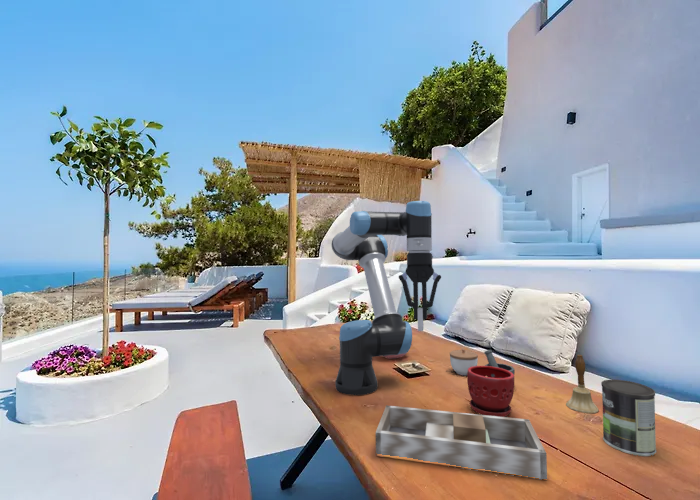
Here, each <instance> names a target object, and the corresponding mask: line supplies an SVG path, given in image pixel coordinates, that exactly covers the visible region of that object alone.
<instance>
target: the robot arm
mask: <svg viewBox="0 0 700 500" xmlns="http://www.w3.org/2000/svg"><path fill="white" fill-rule="evenodd" d="M431 207H432V205H431V203H430V202H429V201H426V200H413V201H412V200H411V201H409V202H407V203H406V206H405V211H403V212H402V211H401V212H400V211H399V212H395V211H365V210H360V211H353V212H352V213H351V214H350V217H349V225H348V227H346V229H345V230H343V231H340V232H338V233H337V234H335V235H334V237H333V238H332V240H331V250H332V252H333V253H334V254H335V256H337V257H339V259H342V260H345V261H358V264H359V266H360V267H361V268H363V271H364V275H365V280H366V285H367V289H368V294H369V297H370V302H371V306H372V311H373V315H374V318H373V319H372V321H371V320H369V319H357V320H356V319H355V320H352V321H348V322H345V323H343V324H342V325H341V327H340V329H339V337H338V339H339V369H338V371H337V374H336V375H337V376H336V378H335V382H334V383H335V384H334V385H335V390H336V391H337V392H338V393H340V394H343V395H349V396H364V395H369V394H373V393H375V392H376V391H377V390H378V384H379V383H378V379H377V375H376V373H375V370H374V369H375V368H374V367H373V358H374V357H384V356H388V355H398V354H404V353H406V354H407V353H409V351H410V349H411V347H412V343H413V329H412V326H411V323H410V322H409V321H405V320H403V316H402V315H401V314H400V313H398V312H397V309H396V306H395V301H394V298H393V294H392V291H391V287H390V284H389V283H390V282H389V280H388V276H387V272H386V269H385V265H384V263H385V262H386V259H387V257H388V254H389V249H388V248H389V246H388V243H387V242H388V241H387V240H386V238H385V236H397V237H405V236H406V251H407V252H408V253H407V254H406V269H405V272H404V273H402V274H400V275H398V279H399V281H400V282H401V284H402V288H403V292H404V295H405V300H406V303H407V306H408V307H410V308H412V309H413V319H414V320H417V331H418V332H423V331H424V320H427V318H428V308H431V307H433V306H434V305H433V304H434V302H435V301H434V300H435V297H436V292H437V288H438V283H439V282H440V280H441V278H442V275H441V274H438V273H437V272H435V270H434V268H433V253H432V252H431V251H432V250H433V243H432V242H433V238H432V235H433V233H432V230H433V229H432V215H433V214H432V208H431ZM408 278H409V279H410V282H412V285H413V286H412V287H413V289H412V290H413V292H412V293H413V294H412V296H413V301H412V297H411V293H410V289H409V285H408V282H407V280H408ZM430 278H432V279H433V284H432V287H431V288H432V289H431V292H430V296H429V300H428V293H427V292H428V291H427V284H428V283H427V282H429V280H430ZM419 283H421V296H422V297H421V298H422V299H421V305H422V307H419Z"/></svg>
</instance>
